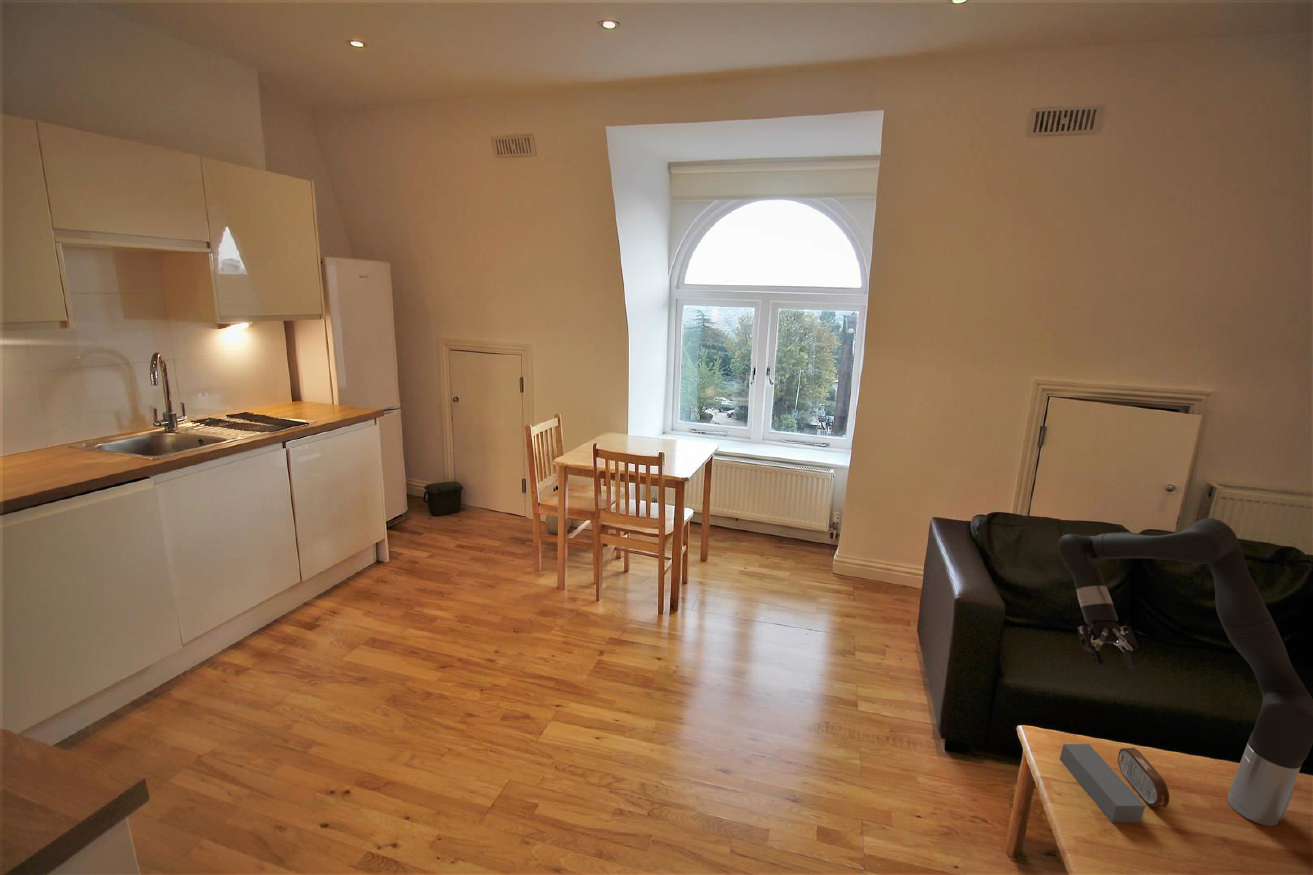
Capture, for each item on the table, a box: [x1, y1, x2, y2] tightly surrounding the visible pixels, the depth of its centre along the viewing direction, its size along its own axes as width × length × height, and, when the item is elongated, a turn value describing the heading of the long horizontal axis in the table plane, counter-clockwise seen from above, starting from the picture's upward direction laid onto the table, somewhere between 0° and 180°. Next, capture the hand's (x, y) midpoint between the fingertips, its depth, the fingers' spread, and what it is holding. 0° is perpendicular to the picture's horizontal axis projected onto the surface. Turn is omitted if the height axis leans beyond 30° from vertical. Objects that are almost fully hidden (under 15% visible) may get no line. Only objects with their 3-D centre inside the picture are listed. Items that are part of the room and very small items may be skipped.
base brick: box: [1059, 743, 1146, 823], centre depth 154 cm, size 7×19×5 cm, turn 1°
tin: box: [1117, 747, 1170, 808], centre depth 154 cm, size 15×3×8 cm, turn 176°
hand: (1116, 666), depth 162 cm, fingers open, 8 cm apart
